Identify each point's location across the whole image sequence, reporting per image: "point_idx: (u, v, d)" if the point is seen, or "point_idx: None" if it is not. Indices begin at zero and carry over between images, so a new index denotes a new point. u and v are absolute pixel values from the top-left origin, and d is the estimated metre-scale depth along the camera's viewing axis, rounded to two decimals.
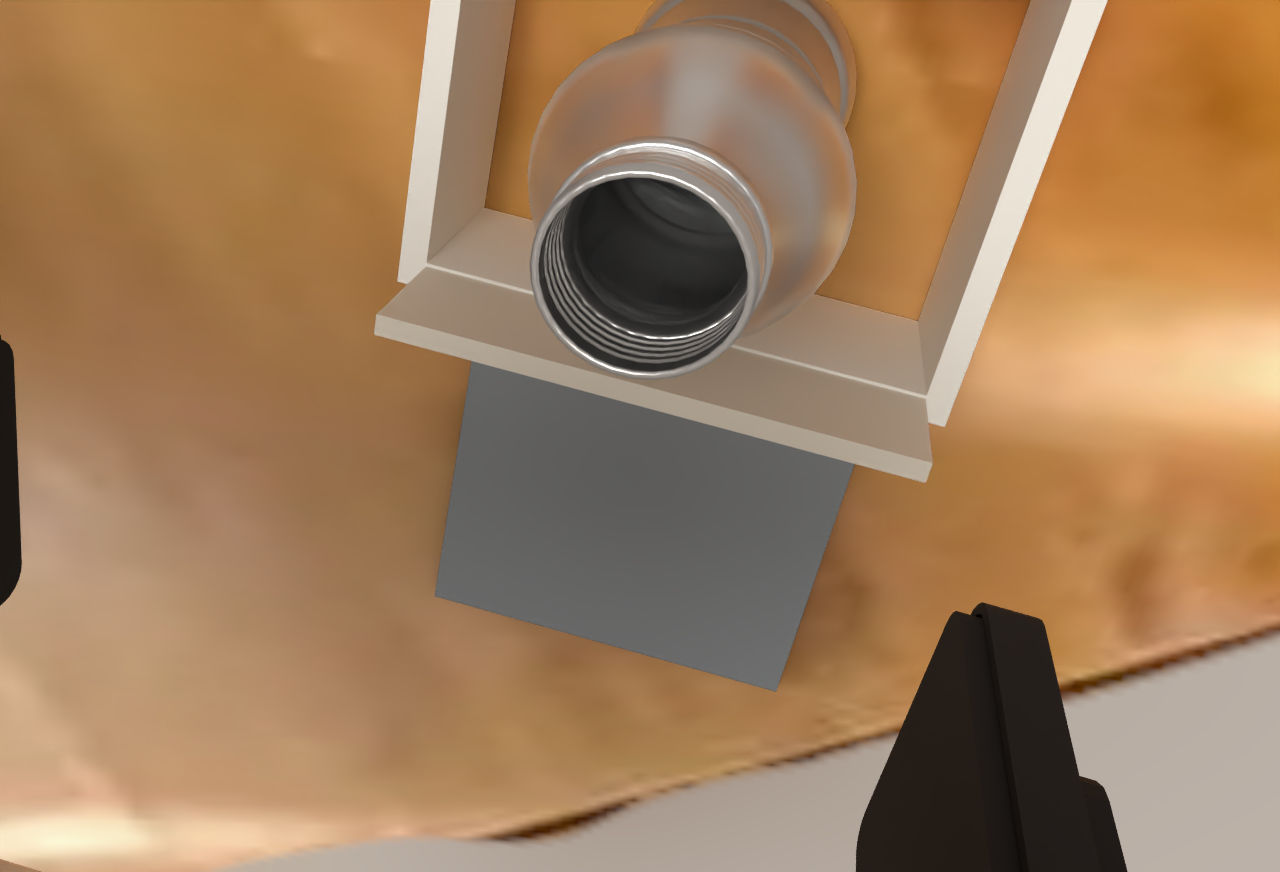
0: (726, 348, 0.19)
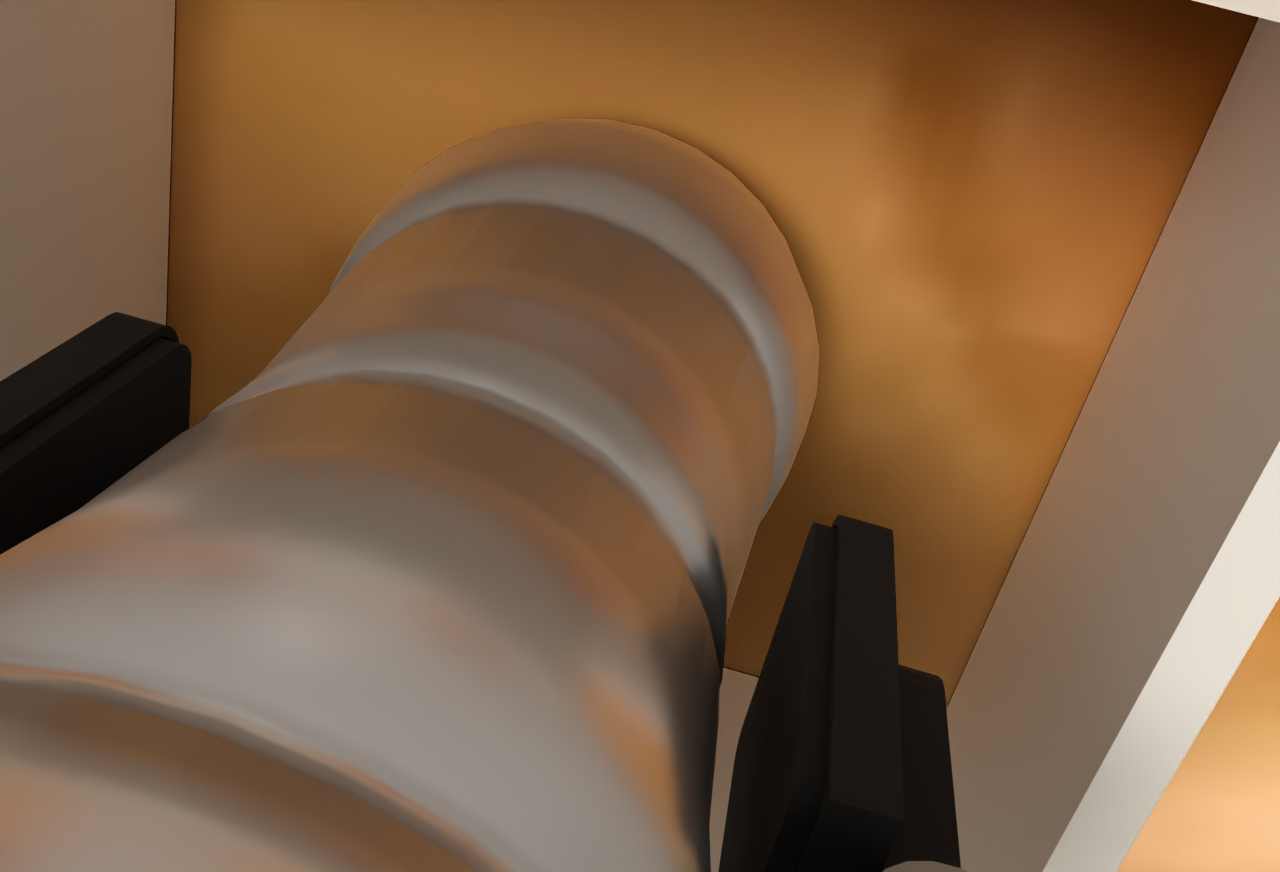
0: None
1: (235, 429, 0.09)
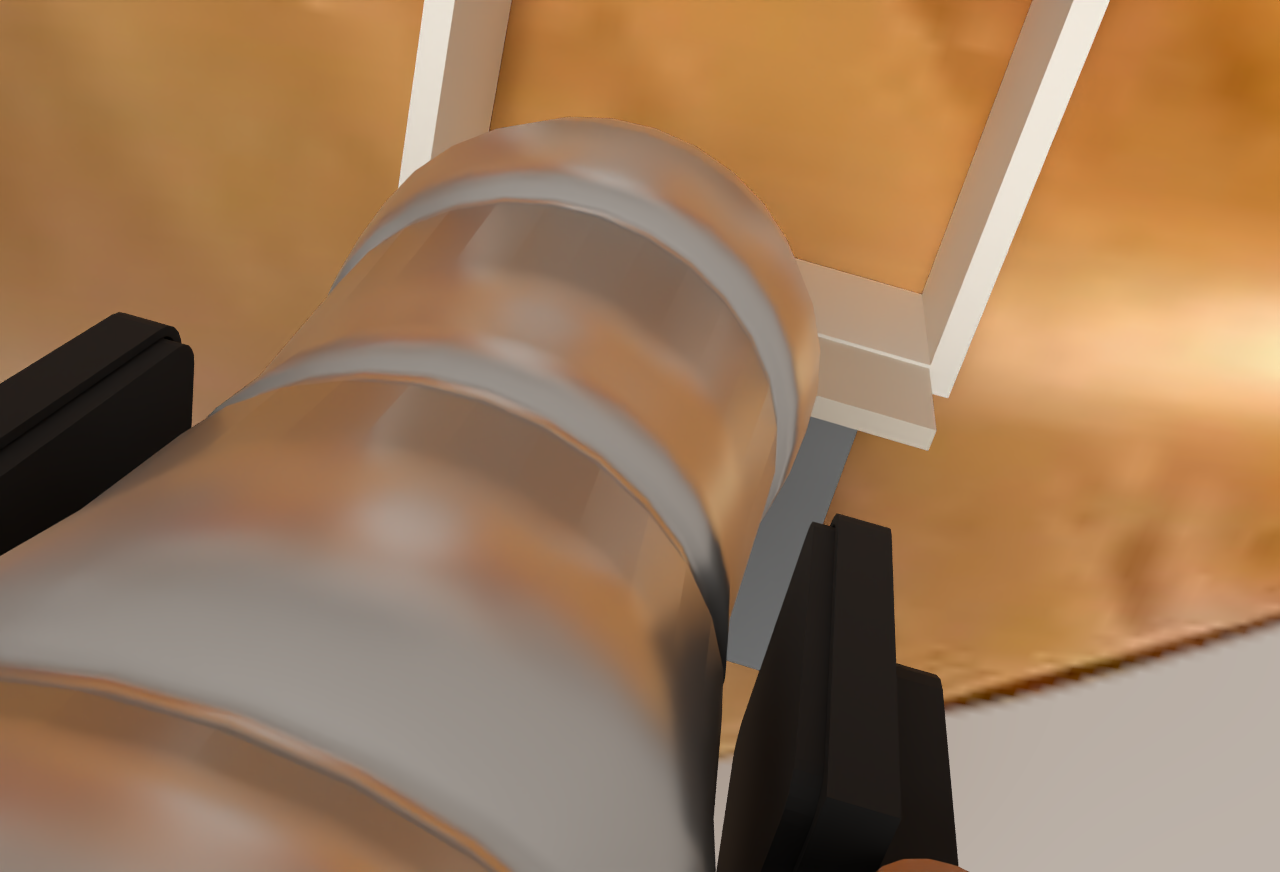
0: None
1: (239, 428, 0.09)
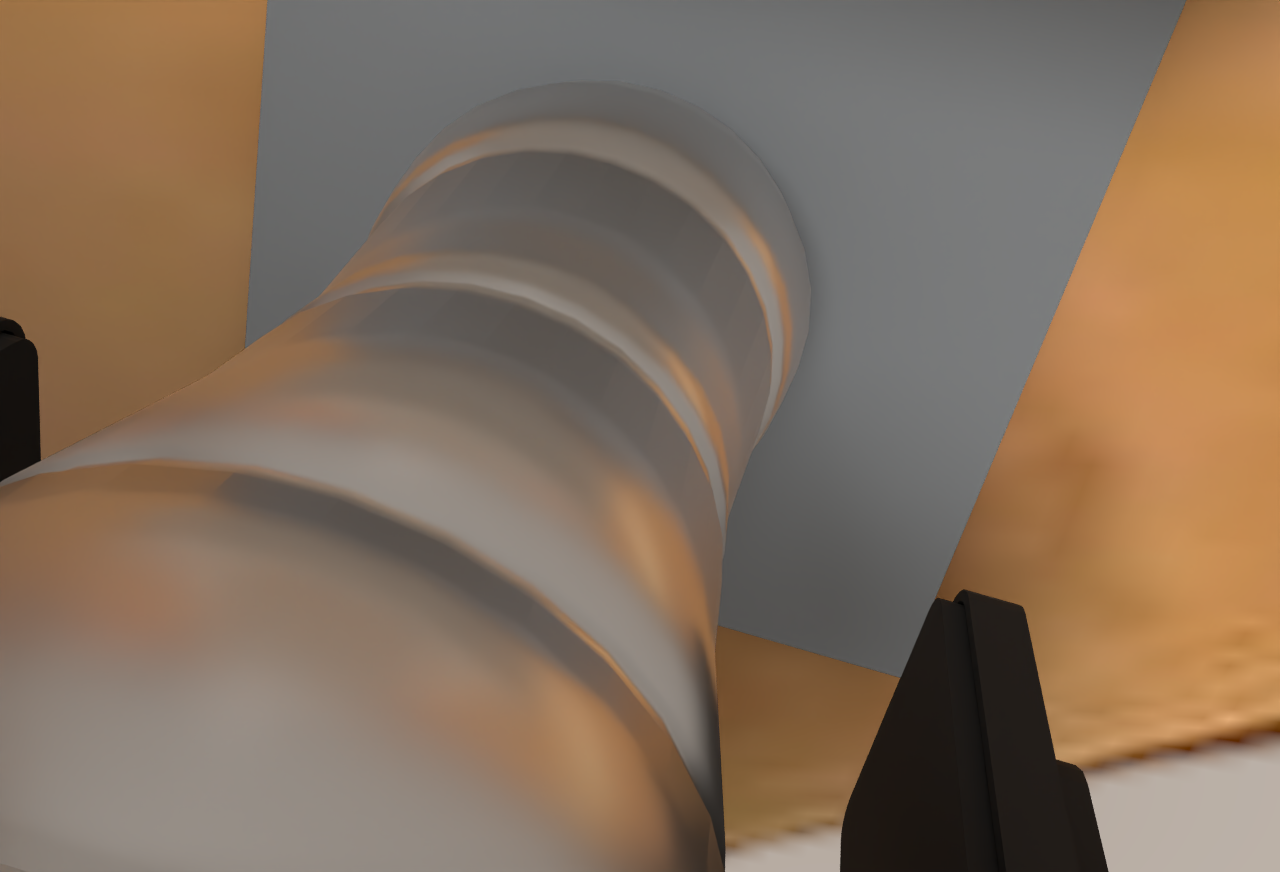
0: None
1: (316, 323, 0.10)
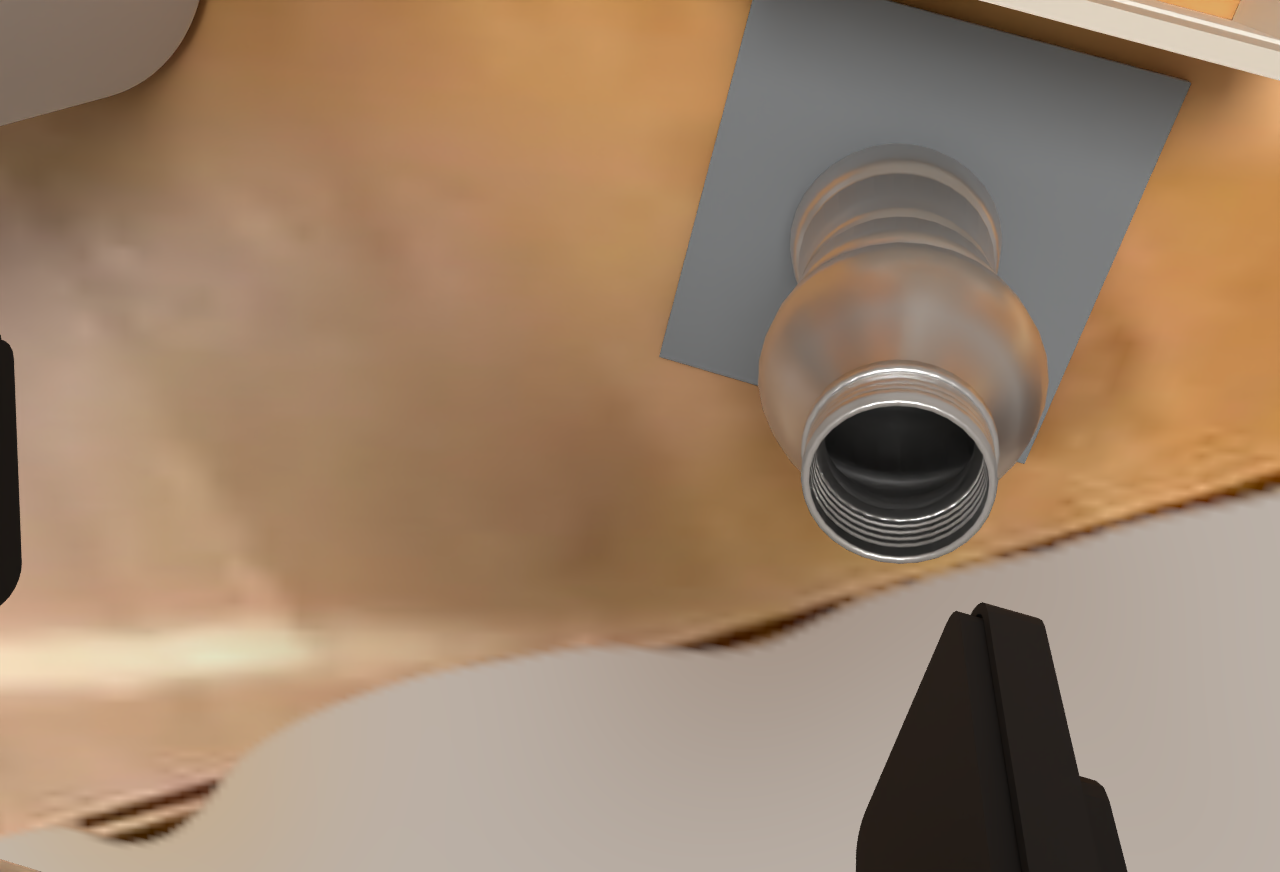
0: (963, 542, 0.23)
1: (876, 225, 0.30)
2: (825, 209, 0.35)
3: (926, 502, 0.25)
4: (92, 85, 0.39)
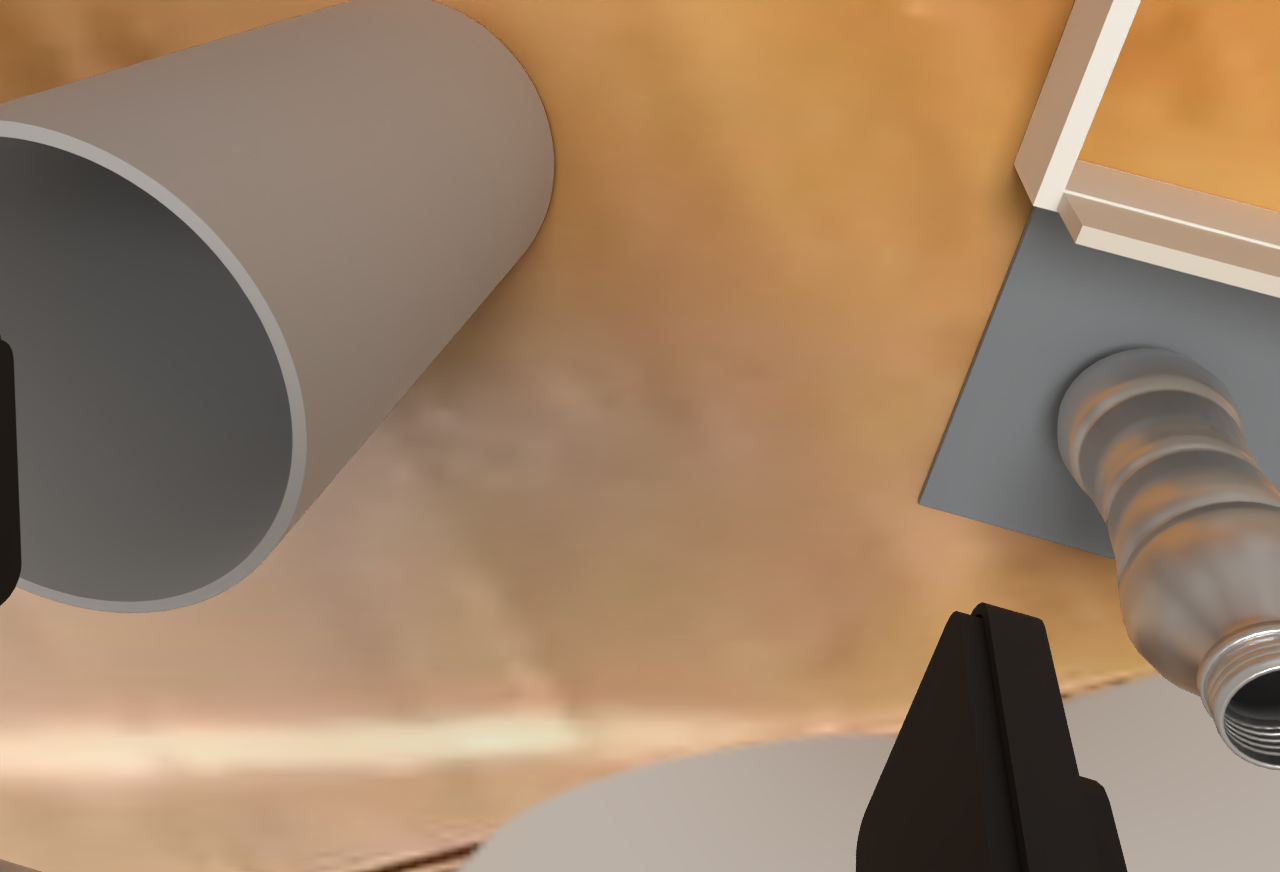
0: None
1: (1190, 462, 0.38)
2: (1111, 420, 0.43)
3: None
4: None
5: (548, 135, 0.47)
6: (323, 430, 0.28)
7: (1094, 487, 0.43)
